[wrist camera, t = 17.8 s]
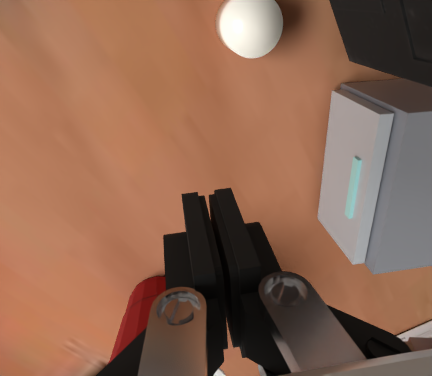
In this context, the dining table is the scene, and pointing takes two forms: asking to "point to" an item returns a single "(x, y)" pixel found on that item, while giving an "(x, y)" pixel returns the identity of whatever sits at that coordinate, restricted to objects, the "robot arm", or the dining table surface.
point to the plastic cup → (140, 314)
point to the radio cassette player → (388, 35)
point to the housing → (402, 177)
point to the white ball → (249, 26)
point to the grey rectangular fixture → (353, 170)
